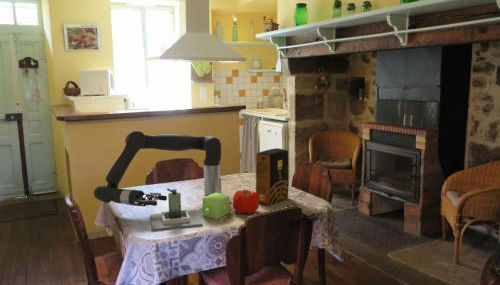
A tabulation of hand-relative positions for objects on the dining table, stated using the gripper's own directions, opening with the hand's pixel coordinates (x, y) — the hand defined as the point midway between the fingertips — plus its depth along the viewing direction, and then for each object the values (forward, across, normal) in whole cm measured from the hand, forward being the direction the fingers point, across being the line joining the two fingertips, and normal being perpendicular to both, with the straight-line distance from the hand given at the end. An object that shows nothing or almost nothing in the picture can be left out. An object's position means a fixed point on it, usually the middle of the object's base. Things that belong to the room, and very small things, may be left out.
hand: (161, 200), depth 190 cm
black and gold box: (+41, +46, +9) cm, 62 cm away
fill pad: (+7, 0, +9) cm, 11 cm away
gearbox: (+22, +13, +9) cm, 27 cm away
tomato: (+34, +23, +9) cm, 42 cm away
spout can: (+7, 0, +8) cm, 11 cm away
